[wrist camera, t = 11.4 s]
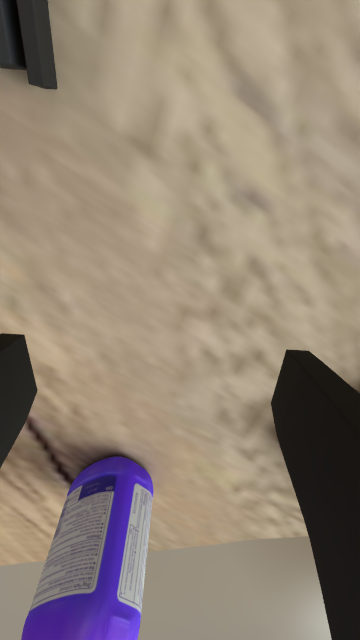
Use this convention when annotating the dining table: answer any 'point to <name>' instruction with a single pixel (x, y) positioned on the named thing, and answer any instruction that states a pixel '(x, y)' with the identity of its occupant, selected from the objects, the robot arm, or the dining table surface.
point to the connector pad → (11, 37)
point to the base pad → (37, 42)
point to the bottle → (96, 558)
